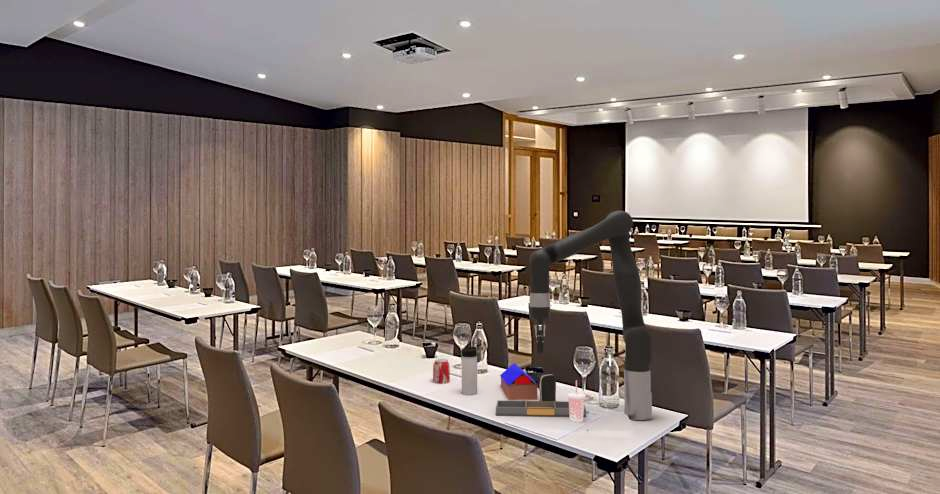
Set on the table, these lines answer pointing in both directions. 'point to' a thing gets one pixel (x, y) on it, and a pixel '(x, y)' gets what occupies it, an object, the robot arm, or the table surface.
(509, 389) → the house
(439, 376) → the soda can
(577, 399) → the beverage cup
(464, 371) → the travel mug
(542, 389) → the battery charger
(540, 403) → the tray
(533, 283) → the robot arm
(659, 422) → the table surface
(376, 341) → the table surface
